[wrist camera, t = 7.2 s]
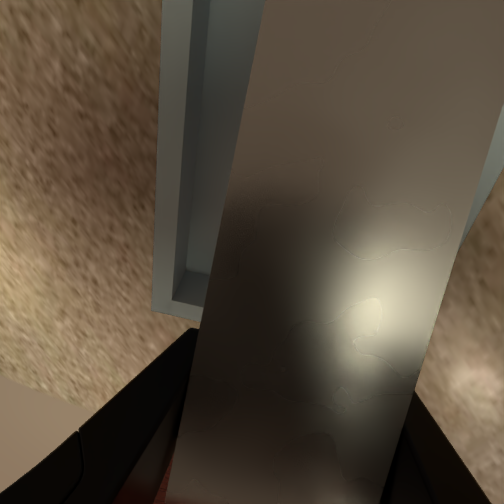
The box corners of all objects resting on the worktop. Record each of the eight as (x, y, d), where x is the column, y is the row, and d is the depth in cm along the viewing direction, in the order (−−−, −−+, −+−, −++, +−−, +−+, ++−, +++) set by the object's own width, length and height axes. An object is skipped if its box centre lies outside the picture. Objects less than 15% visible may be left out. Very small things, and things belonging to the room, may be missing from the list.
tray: (388, 321, 19) (395, 366, 17) (170, 272, 19) (151, 310, 17) (773, -479, 8) (948, -654, 5) (227, -565, 8) (189, -764, 6)
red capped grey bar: (340, 475, 12) (373, 658, 8) (180, 437, 13) (118, 592, 8) (515, -135, 9) (744, -443, 5) (304, -174, 10) (323, -509, 5)
